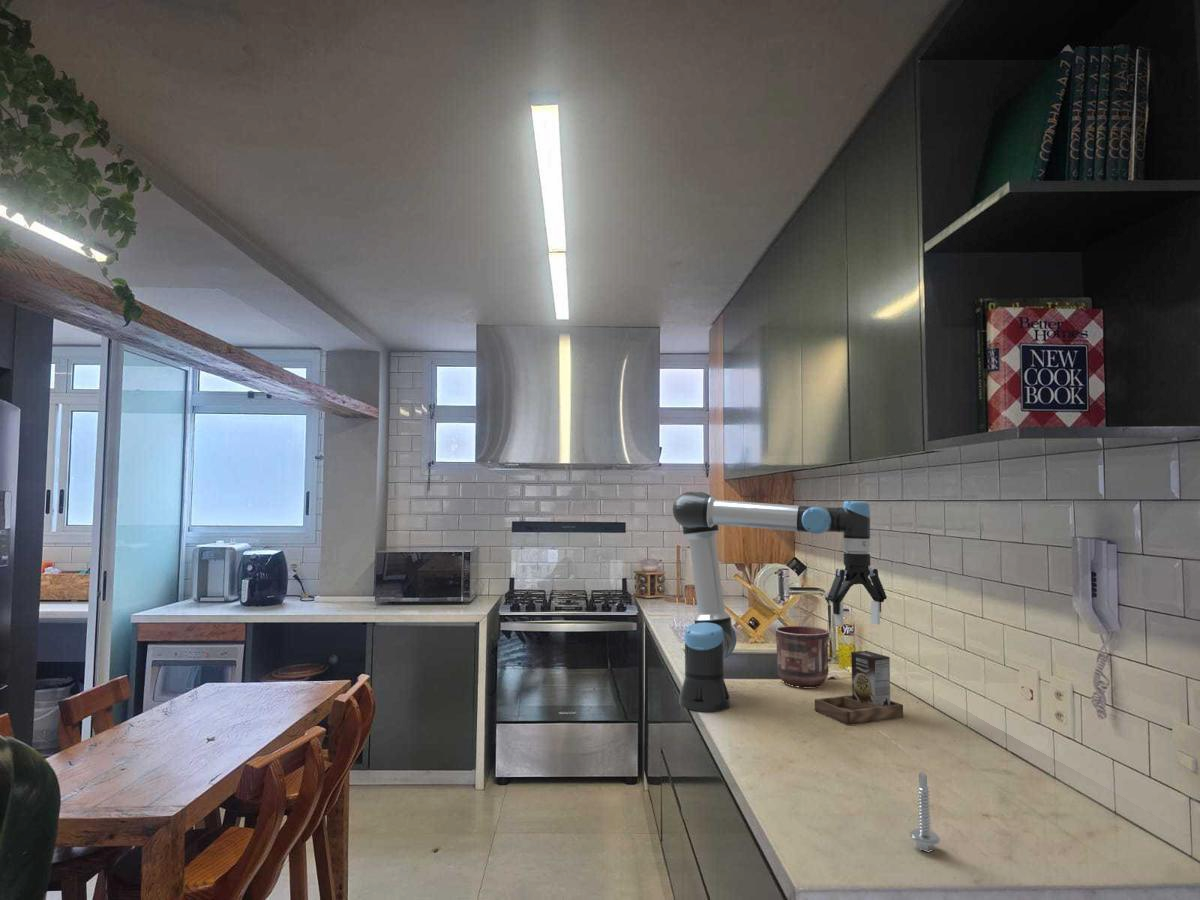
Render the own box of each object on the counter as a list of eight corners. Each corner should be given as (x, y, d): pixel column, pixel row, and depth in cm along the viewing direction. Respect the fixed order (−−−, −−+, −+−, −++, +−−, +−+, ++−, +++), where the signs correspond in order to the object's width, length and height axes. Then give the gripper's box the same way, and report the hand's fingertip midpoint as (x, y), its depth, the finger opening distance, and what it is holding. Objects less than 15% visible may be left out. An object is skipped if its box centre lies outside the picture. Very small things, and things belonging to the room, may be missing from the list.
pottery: (834, 692, 221) (833, 635, 223) (778, 689, 224) (778, 633, 226) (825, 679, 239) (824, 626, 240) (773, 676, 241) (773, 624, 243)
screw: (938, 858, 116) (907, 850, 119) (942, 846, 121) (912, 839, 123) (935, 779, 118) (905, 773, 120) (939, 770, 122) (910, 764, 124)
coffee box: (851, 707, 202) (849, 651, 203) (867, 704, 205) (866, 649, 206) (875, 716, 194) (873, 657, 195) (891, 713, 196) (890, 656, 198)
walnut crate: (847, 725, 188) (847, 712, 188) (814, 711, 200) (814, 699, 200) (903, 717, 195) (902, 704, 195) (868, 704, 207) (868, 692, 208)
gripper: (831, 554, 197) (832, 628, 195) (898, 553, 206) (899, 624, 204) (814, 552, 204) (814, 624, 202) (880, 551, 213) (881, 620, 211)
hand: (857, 624), depth 203 cm, fingers open, 13 cm apart
